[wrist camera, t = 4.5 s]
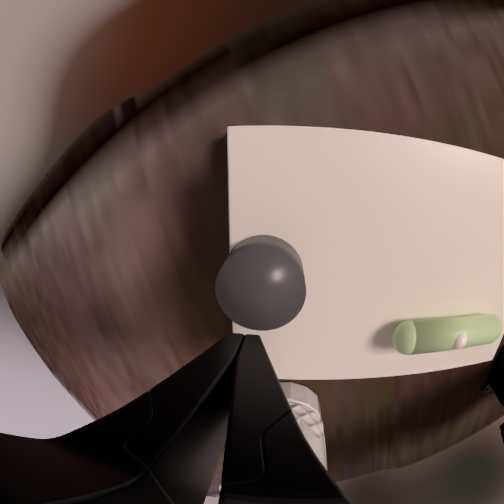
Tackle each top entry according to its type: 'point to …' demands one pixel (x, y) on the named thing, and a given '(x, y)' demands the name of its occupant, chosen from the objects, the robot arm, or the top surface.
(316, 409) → the white cup
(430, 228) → the instrument plate
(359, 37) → the top surface
